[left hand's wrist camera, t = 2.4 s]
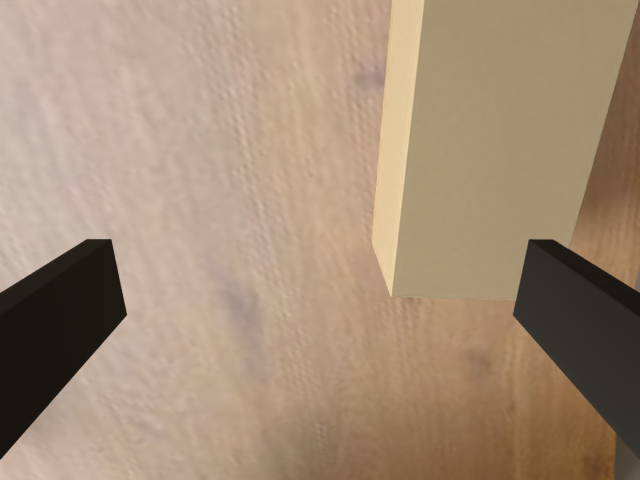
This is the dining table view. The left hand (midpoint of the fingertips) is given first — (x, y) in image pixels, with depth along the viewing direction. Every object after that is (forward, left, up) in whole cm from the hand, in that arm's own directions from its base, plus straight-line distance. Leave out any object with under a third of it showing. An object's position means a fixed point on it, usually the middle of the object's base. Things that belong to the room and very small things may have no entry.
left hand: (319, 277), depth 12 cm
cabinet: (+4, -10, -20) cm, 23 cm away
